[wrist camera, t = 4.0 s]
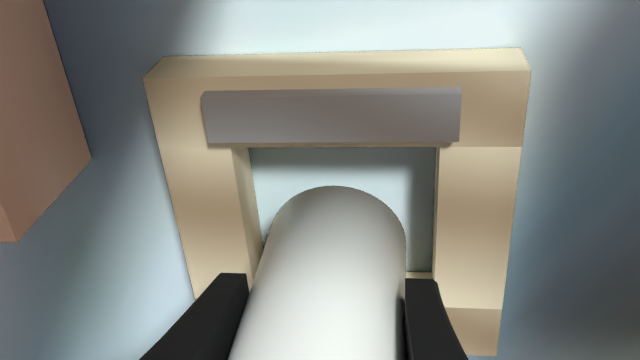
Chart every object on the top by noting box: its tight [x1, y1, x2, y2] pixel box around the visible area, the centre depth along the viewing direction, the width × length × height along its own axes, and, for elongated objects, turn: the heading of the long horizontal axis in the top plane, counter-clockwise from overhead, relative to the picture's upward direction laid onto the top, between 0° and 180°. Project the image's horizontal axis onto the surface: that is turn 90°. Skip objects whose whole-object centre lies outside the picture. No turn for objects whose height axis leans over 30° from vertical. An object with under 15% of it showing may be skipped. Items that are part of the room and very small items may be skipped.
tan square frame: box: [142, 48, 531, 356], centre depth 16 cm, size 9×9×2 cm
